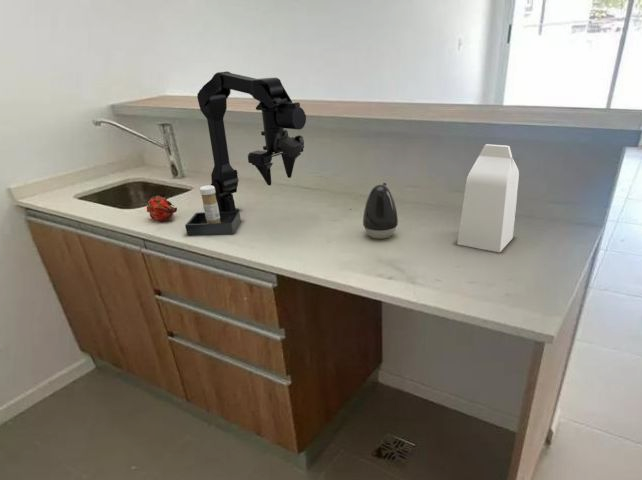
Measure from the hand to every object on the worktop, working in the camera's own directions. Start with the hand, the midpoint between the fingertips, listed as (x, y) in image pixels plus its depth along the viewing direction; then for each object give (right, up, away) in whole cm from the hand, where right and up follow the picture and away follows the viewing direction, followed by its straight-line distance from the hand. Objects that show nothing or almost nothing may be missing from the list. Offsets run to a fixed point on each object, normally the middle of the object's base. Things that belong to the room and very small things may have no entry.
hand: (279, 181), depth 142 cm
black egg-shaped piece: (+31, -17, -3) cm, 35 cm away
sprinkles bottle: (-22, -13, +9) cm, 27 cm away
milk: (+60, -20, -10) cm, 64 cm away
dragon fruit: (-42, -8, +19) cm, 47 cm away
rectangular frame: (-22, -13, +9) cm, 27 cm away
